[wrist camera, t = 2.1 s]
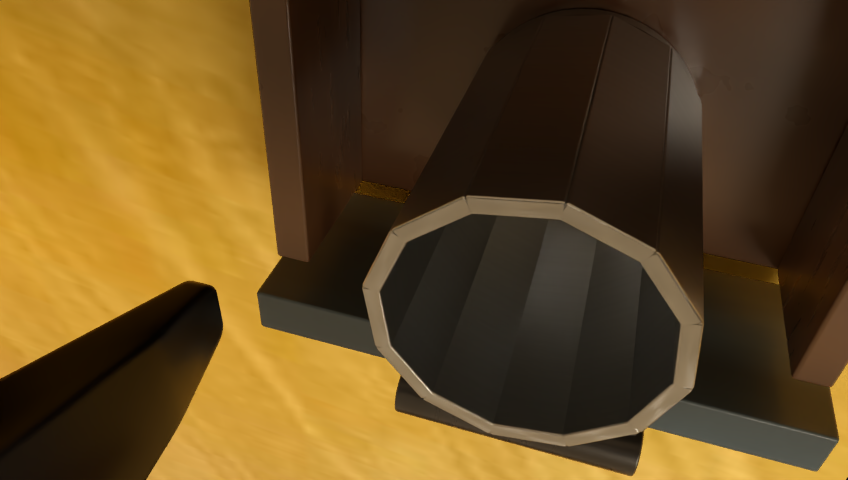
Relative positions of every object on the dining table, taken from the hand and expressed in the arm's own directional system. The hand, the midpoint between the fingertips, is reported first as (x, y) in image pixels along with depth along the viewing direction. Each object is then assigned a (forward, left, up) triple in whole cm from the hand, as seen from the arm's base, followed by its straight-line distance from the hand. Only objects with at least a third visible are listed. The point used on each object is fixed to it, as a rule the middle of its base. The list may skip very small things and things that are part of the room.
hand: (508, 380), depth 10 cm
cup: (0, 0, -8) cm, 8 cm away
